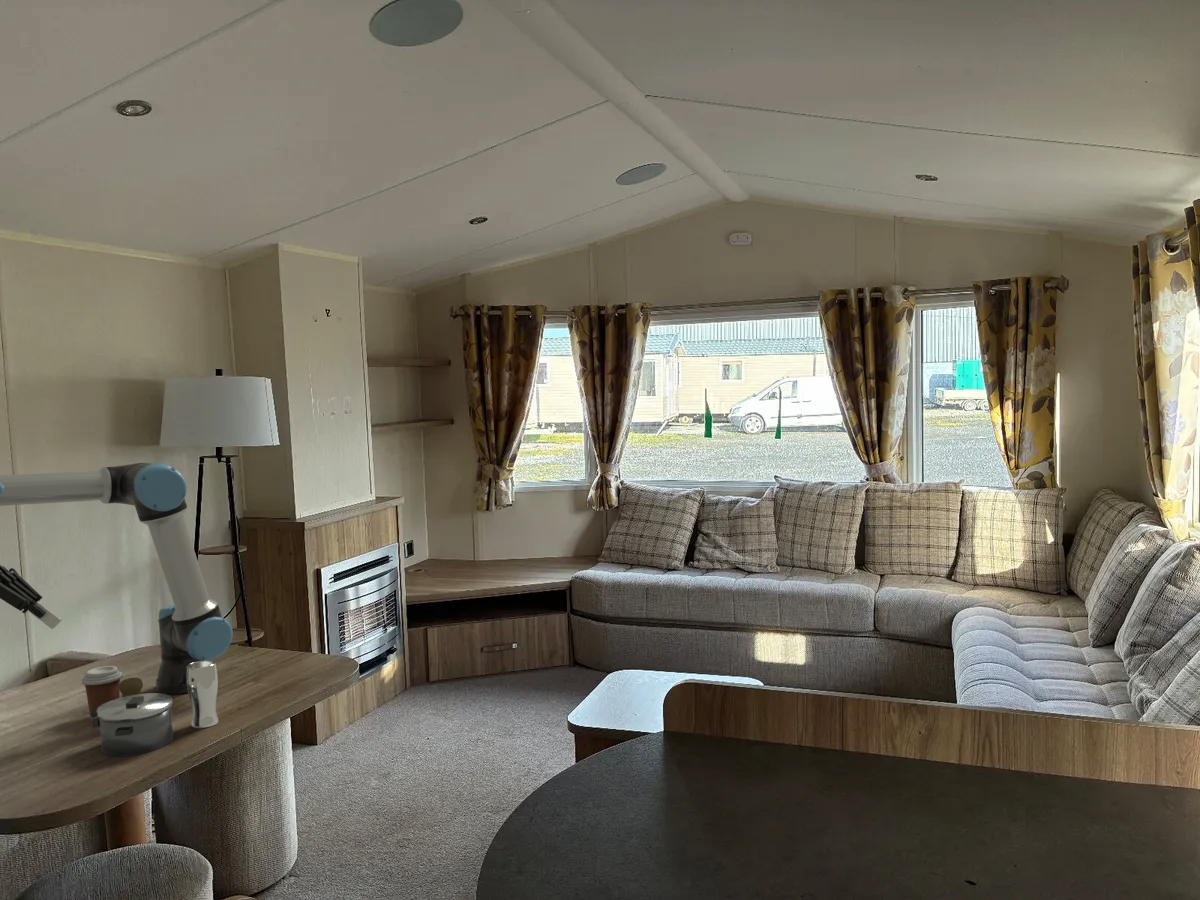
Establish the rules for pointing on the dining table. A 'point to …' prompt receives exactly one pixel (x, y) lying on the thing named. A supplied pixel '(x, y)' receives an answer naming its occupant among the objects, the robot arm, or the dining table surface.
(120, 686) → the cork
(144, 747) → the cooker pot
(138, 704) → the lid
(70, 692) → the dining table surface
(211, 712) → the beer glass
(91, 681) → the coffee cup
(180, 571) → the robot arm
